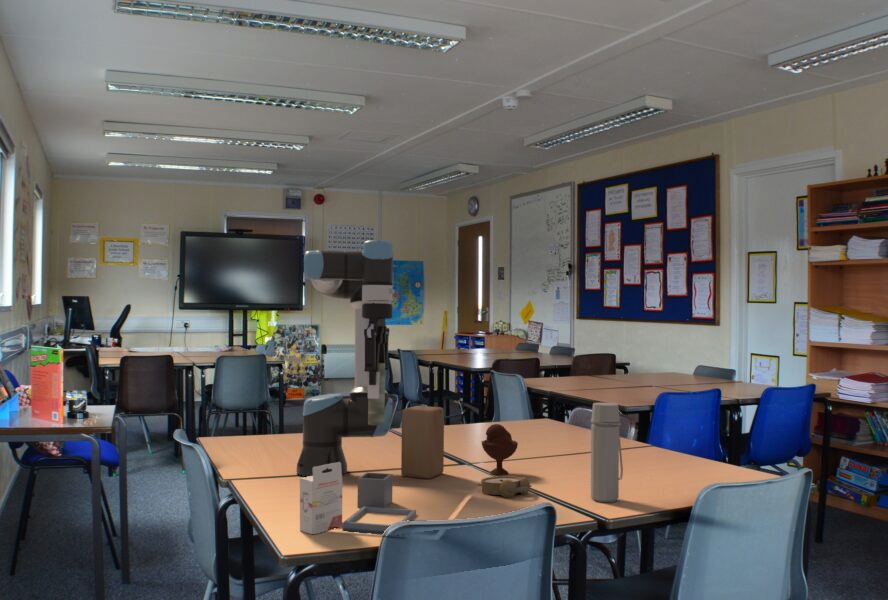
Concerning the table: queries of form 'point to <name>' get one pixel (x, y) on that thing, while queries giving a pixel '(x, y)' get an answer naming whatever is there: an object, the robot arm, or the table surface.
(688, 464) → the table surface
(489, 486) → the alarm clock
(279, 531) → the table surface
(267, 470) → the table surface
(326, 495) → the ink cartridge box
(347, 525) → the tray
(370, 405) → the dowel
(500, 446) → the ice cream bowl
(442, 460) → the wooden block
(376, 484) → the pot
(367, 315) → the robot arm
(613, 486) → the water bottle
